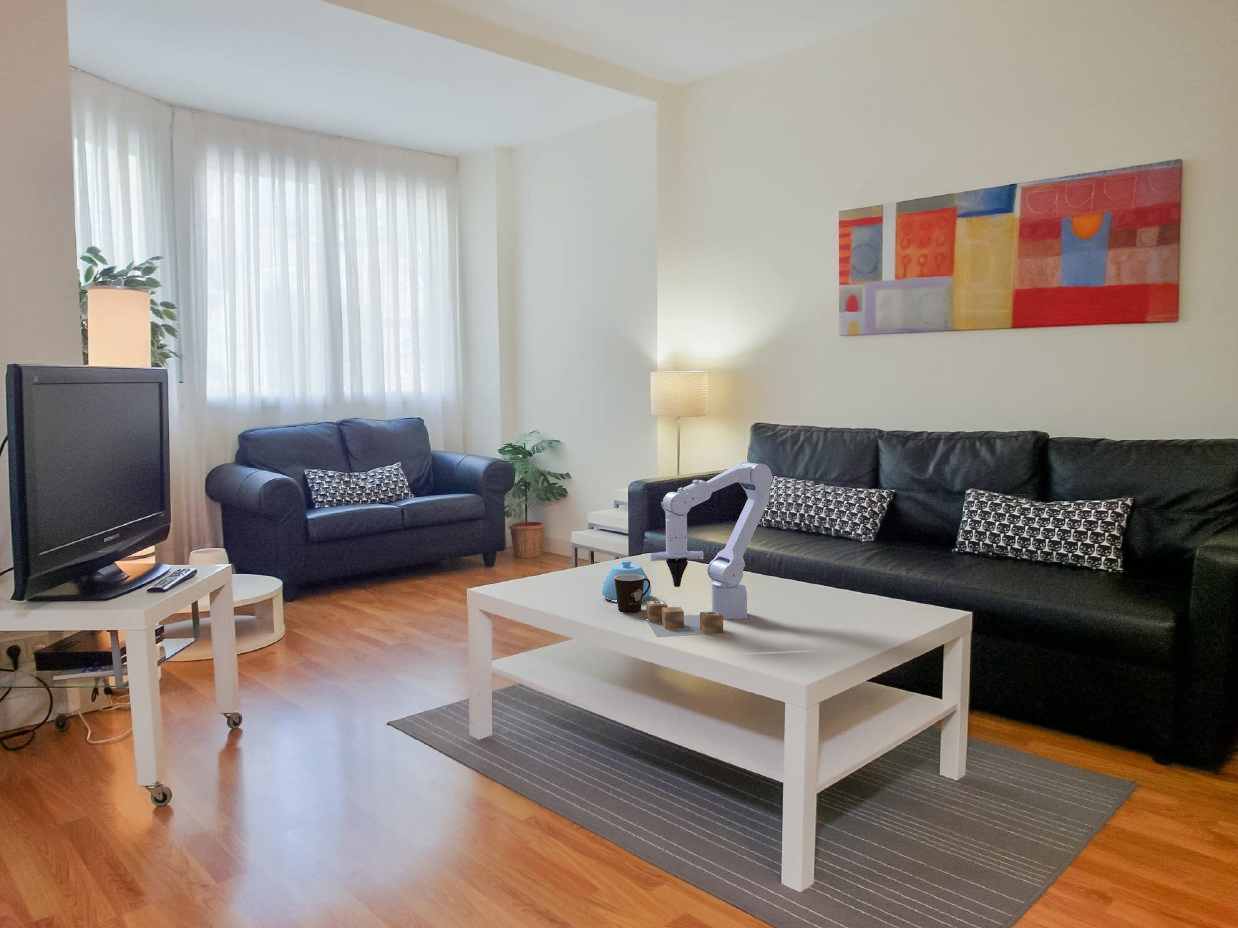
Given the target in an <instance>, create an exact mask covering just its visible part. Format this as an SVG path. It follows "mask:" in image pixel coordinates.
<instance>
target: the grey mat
mask: <svg viewBox="0 0 1238 928" xmlns="http://www.w3.org/2000/svg"><path fill="white" fill-rule="evenodd" d="M644 619H645V620H646V619H647V616H644ZM646 623H648V625H649V627H650V629H651V630H652V632H653V633H654V635H655V637H656V638H661V637H665V638H666V637H681V636H683V637H684V636H706V635H711V634H704V633H703V632H702V631H701V630H700V614H693V615H692V614H689V615H688V614H687V615H685V614H684V628H674V629H665V628H664V626H663V625H662V622H649V621H648V620H646ZM725 634H726V632H725V631H724V630H723V633H715V634H714V635H725Z"/></svg>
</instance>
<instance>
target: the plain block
mask: <svg viewBox="0 0 1238 928" xmlns="http://www.w3.org/2000/svg"><path fill="white" fill-rule="evenodd" d="M684 615H685V611H684V609H682V607H681V606H668V607H664V608H662V625H663V626H664V628H665V629H674V628H684Z"/></svg>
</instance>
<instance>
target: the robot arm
mask: <svg viewBox="0 0 1238 928" xmlns="http://www.w3.org/2000/svg"><path fill="white" fill-rule="evenodd" d="M773 479H774V476H773V474H772V471H771V468H770V467H769V466H768V465H767V464H765V463H754V462H753V463H752V462H748V461H742V462H740V463H739V464H734V465H732V467H730V468H729V469H727V470H724V471H723V472H721V473H719V474H718V475H716V476H714V477H712V478H710V479H709V480H707V481H705V480H702V479H694V480H692V482H691V484H689V485H687V486H684V487H679V488H677V492H676V491H671V492H667V493H666V494H665V496H664V497H663V499H662V501H661V503H660V504H661V507H662V509H663V510H664V512H665V513H664V514H665V551H658V552H650V553H649V561H650V562H656V561H658V562H661V561H665V563H666V565H667V566H668V569H669V571H670V574H671V577H672V582H673V583H672V584H673V586H674V588H681V583H682V579H683V575H684V573H685V570H686V569H687V567H688V564H689V561H688V560H704V551H702V550H688V513H689V512H690V510H691V508H693V507H695V506H697V505H699V504H701V503H704V502H705V501H707V500H709V499H710V498H711V496H712V494H713V493H714V492H716V491H719V490H721V489H723V488H726V487H728V486H731V485H734V484H735V483H739V485H740V486H741V487H742V488H743V490H744V491H745V493H746V496H747V500H746V502H745V505H744V507H743V509H742V511H741V513H740V514H739V518H738V519H737V521H736V524H735V526H734V528H733V529H732V532H731V534H730V536H729V539H728V541H727V543H726V545H725V547H724V548H723V549H722V550H719V551H718V552H717V554H716V556H715V557H714V558H713V559H712V560H711V561H710V562H709V564H708V565H707V569H706V571H707V575H708V577H709V578H710V579H711V611H708V612H714V611H719V612H720V613H721V614H722V615H723V620H731V619H733V620H734V619H748V592H747V588H746V585H744V584H740V583H741V582H742V580H743V576H744V568H745V566H746V563H745V560H744V555H745V553H746V551H747V548H748V546H749V544H750V542H751V539H752V537H753V536H754V533H755V531H756V529H757V527H758V525H759V522H760V521H761V518H762V516H763V514H764V512H765V510H766V508H767V505H768V503H769V502H770V491H771V485H772V482H773Z"/></svg>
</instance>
